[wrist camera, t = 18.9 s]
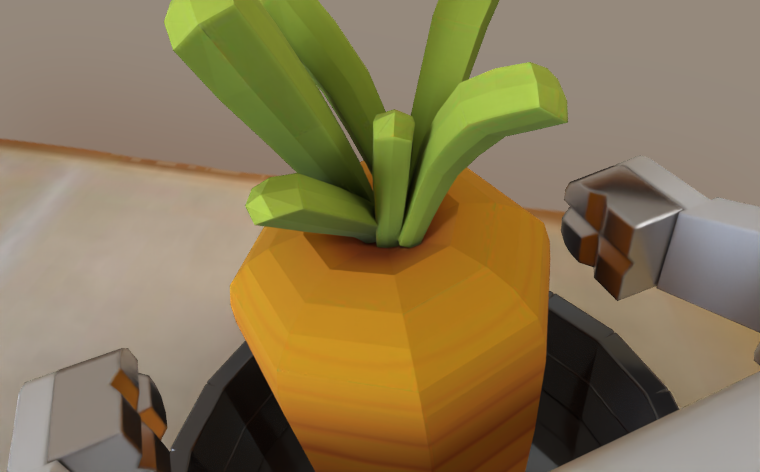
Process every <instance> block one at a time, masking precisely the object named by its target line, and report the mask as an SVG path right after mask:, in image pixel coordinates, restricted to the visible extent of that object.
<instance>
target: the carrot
mask: <svg viewBox="0 0 760 472" xmlns="http://www.w3.org/2000/svg"><path fill="white" fill-rule="evenodd" d="M498 2H499V0H439V1H438V3H437V6H436V8H435V11H434V14H433V17H432V22H431V26H430V31H429V35H428V40H427V45H426V49H425V53H424V58H423V62H422V67H421V71H420V76H419V80H418V85H417V89H416V94H415V99H414V103H413V108H412V112H411V116H410V115H408V114H405V113H402V112H400V111H398V110H395V109H394V110H391V111H387V112H386V111H385V109H384V107H383V104H382V102H381V100H380V98H379V95H378V93H377V90H376V88H375V86H374V83H373V81H372V79H371V76H370V74H369V72H368V70H367V68H366V67H365V65H364V64H363V62H362V61H361V59H360V58H359V56H358V55H357V53H356V52H355V50H354V49H353V47H352V46H351V44H350V43H349V41H348V40H347V38H346V37H345V35H344V34H343V32H342V31H341V29H340V28H339V26H338V25H337V23H336V22H335V20H334V19H333V18H332V17H331V16H330V14H329V13H328V12H327V11H326V10H325V9H324V7H323V6H322V5H321V4H320V2H319V1H318V0H172V1H171V2H170V5H169V9H168V11H167V14H166V18H165V20H164V24H165V27H166V30H167V33H168V36H169V39H170V42H171V45H172V48H173V51H174V52H175V53H176V54H177V55H178V56H179V57H180V58H181V59H182V60H183V61H184V62H185V63H186V65H187V66H188V67H189V68H190V69H191V70H192V71H193V72H194V73H195V74H196V75H197V76H198V77H199V78H200V80H202V82H203V83H204V84H205V85H206V86H207V87H208V88H209V89H210V90H211V91H212V92H213V93H214V94H215V96H217V98H218V99H219V100H220V101H221V102H222V103H223V104H225V105H226V106H227V107H228V108H229V109H230V110H231V111H232V112H233V113H234V114H235V115H236V116H237V117H239V118H240V119H241V120H242V121H243V122H244V123H245V124H246V125H247V126H248V127H249V128H251V130H253V131H254V132H255V133H256V134H257V135H258V136H259V137H260V138H261V139H262V140H263V141H264V142H266V143H267V144H268V145H269V146H270V147H271V148H272V149H273V150H274V151H275V152H276V153H277V154H278V155H279V156H280V157H281V158H282V159H284V161H285V162H286V163H288V164H289V165H290V166H291V167H292V168H293V169H294V170H295V171H296V172H297V173H294V174H288V175H282V176H276V177H270V178H268V179H266V180H265V181H263V182H262V183H260V184H258V185H257V186H255V187H254V188H252V190H251V192H250V195H249V198H248V200H247V203H246V205H245V206H246V208H247V210H248V212H249V214H250V216H251V218H252V220H253V222H254V225H259V226H264V228H263V230H262V232H261V233H260V235H259V237H258V238H257V240H256V242H255V244H254V245H253V247H252V249H251V250H250V252H249V254H248V256H247V257H246V259H245V261H244V262H243V264H242V266H241V268H240V269H239V271H238V273H237V274H236V276H235V278H234V280H233V281H232V283H231V285H230V302H231V308H232V311H233V314H234V317H235V320H236V322H237V324H238V326H239V328H240V330H241V332H242V334H243V336H244V338H245V340H246V342H247V344H248V346H249V348H250V350H251V351H252V353H253V355H254V357H255V359H256V361H257V363H258V365H259V367H260V369H261V371H262V373H263V375H264V377H265V379H266V380H267V382H268V384H269V386H270V388H271V390H272V392H273V394H274V396H275V398H276V400H277V402H278V404H279V406H280V407H281V409H282V411H283V413H284V415H285V417H286V419H287V421H288V422H289V424H290V426H291V428H292V430H293V432H294V433H295V435H296V437H297V439H298V441H299V443H300V444H301V446H302V448H303V450H304V452H305V454H306V455H307V457H308V459H309V461H310V463H311V465H312V466H313V468H314V470H315V472H525V470H526V466H527V461H528V457H529V453H530V448H531V444H532V439H533V435H534V431H535V425H536V419H537V413H538V407H539V401H540V394H541V388H542V382H543V376H544V370H545V364H546V348H547V324H548V300H549V276H550V241H549V238H548V235H547V231H546V228H545V225H544V223H543V222H542V221H540V220H539V219H538V218H536V217H535V216H533V215H532V214H531V213H529V212H528V211H527V210H525V209H524V208H522V207H521V206H520V205H518V204H517V203H515V202H514V201H513V200H511V199H510V198H508V197H507V196H505V195H504V194H503V193H502V192H500V191H499V190H497V189H496V188H495V187H493V186H492V185H491V184H489V183H488V182H486V181H485V180H484V179H482V178H481V177H480V176H478V175H477V174H475V173H474V172H473V171H471V170H470V169H468V168H467V166H468V165H469V164H471V163H472V161H474V160H475V159H476V158H477V157H478V156H479V155H480V154H482V153H483V152H485V151H486V150H487V149H489V148H490V147H491V146H493V145H494V144H496V143H497V142H498V141H500V140H501V139H503V138H504V137H505V136H510V135H514V134H519V133H524V132H528V131H533V130H537V129H542V128H546V127H550V126H555V125H559V124H563V123H567V122H568V113H567V100H566V97H565V95H564V93H563V90H562V88H561V86H560V83H559V81H558V79H557V78H556V77H555V76H554V75H553V74H552V73H551V72H550V71H549V70H548V69H547V68H545V67H542V66H539V65H537V64H534V63H531V62H528V63H523V64H517V65H512V66H507V67H501V68H496V69H493V70H490V71H488V72H486V73H483V74H481V75H478V76H476V77H473V78H471V79H469V77H470V74H471V71H472V68H473V65H474V63H475V60H476V57H477V54H478V52H479V49H480V46H481V44H482V41H483V38H484V35H485V32H486V30H487V27H488V25H489V23H490V20H491V18H492V16H493V14H494V11H495V9H496V7H497V5H498ZM316 85H317V86H318V87H319V89H320V90H321V91H322V92H323V93H324V95H325V97H326V98H327V100H328V101H329V103H330V104H331V106H332V108H333V109H334V111H335V112H336V114H337V116H338V117H339V119H340V120H341V122H342V123H343V125H344V126H345V128H346V130H347V131H348V133H349V135H350V137H351V139H352V140H353V142H354V144H355V146H356V147H357V149H358V151H359V153H360V154H361V156H362V158H363V160H364V161H361V162H359V160H358V158H357V156H356V154H355V153H354V151H353V149H352V147H351V145H350V143H349V141H348V140H347V138H346V136H345V134H344V132H343V130H342V129H341V127H340V125H339V124H338V122H337V120H336V118H335V116H334V115H333V113H332V111H331V110H330V108H329V106H328V104H327V103H326V101H325V100H324V97H323V96H322V94H321V92H320V91H319V89H318V87H317V86H316Z"/></svg>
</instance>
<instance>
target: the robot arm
mask: <svg viewBox="0 0 760 472" xmlns="http://www.w3.org/2000/svg"><path fill="white" fill-rule="evenodd" d="M564 200H565V201H566V202H567V203H568V205H569V206H570V207H569V208H568V210H567V211H566V213H565V214H564V216H563V217H562V225H561V233H562V236H563V240H564V243H565V245H566V247H567V248H568V250H569V252H570V253H571V255H572V256H573V257H574V258H575V259H576V260H577V261H578V262H579V263H582V264H585V265H588V266H591V267H594V278H595V279H596V280H597V281H598V282H599V283H600V284H601V285H602V286H603V287H604V288H605V289H606V290H607V291H608V292H609V293H610V294H611V295H612V296H613V297H614V298H615V299H616V300H617V301H619V300H621V299H624V298H627V297H629V296H632V295H634V294H637V293H639V292H642V291H644V290H647V289H650V288H652V287H655V286H657V288H658V289H660V290H662V291H664V292H667V293H669V294H671V295H674V296H676V297H678V298H681V299H683V300H685V301H688V302H690V303H692V304H695V305H697V306H699V307H701V308H704V309H706V310H708V311H711V312H713V313H715V314H718V315H720V316H722V317H725V318H727V319H729V320H732V321H734V322H736V323H739V324H741V325H743V326H745V327H748V328H750V329H752V330H755V331H757V332H759V333H760V207H759V206H754V205H750V204H746V203H741V202H737V201H732V200H728V199H723V198H719V197H717V198H714V199H711V200H710V199H709V198H707V197H705V196H704V195H703V194H701V193H700V192H698V191H697V190H695V189H694V188H693V187H691V186H689V185H688V184H686V183H685V182H684V181H682V180H681V179H679V178H678V177H676V176H675V175H673V174H672V173H671V172H669V171H668V170H666V169H664V168H663V167H662V166H660V165H659V164H657V163H656V162H654V161H653V160H652V159H650V158H648V157H645V156H637V157H634V158H632V159H629V160H627V161H624V162H621V163H619V164H617V165H615V166H611V167H609V168H606V169H603V170H601V171H598V172H595V173H593V174H590V175H588V176H585V177H582V178H580V179H577V180H574V181H572V182H570V183H569V184H568V186H567V187H566V189H565V196H564ZM754 361H755V362H757V363H758V364H759V365H760V343H759V344H758V346H757V348H756V350H755V352H754ZM166 430H167V420H166V412H165V408H164V405H163V401H162V398H161V395H160V393H159V391H158V389H157V387H156V385H155V383H154V382H153V380H152V379H151V378H150V376H148V375H145V374H141V373H138V360H137V359H136V358H135V356H134V355H133V354H132V353H131V351H130V350H129V349H128V348H121V349H118V350H115V351H112V352H109V353H106V354H104V355H101V356H98V357H95V358H92V359H89V360H86V361H83V362H80V363H77V364H74V365H72V366H69V367H66V368H63V369H60V370H59V371H56V372H53V373H50V374H48V375H45V376H42V377H39V378H36V379H33V380H30V381H27V382H25V383H24V385H23V386H22V388H21V389H20V391H19V395H18V402H17V408H16V415H15V422H14V428H13V435H12V442H11V449H10V455H9V462H8V469H7V472H171V461H170V452H169V450H168V449H167V448H166V447H165V445H164V444H163V443H162V442H161V439H162V437H163V435H164V433H165V431H166ZM549 472H760V371H759V372H757V373H755V374H753V375H751V376H748V377H746V378H744V379H742V380H740V381H738V382H736V383H734V384H732V385H730V386H727V387H725V388H723V389H721V390H719V391H717V392H715V393H713V394H711V395H709V396H706V397H704V398H702V399H700V400H698V401H696V402H694V403H692V404H690V405H688V406H685V407H683V408H681V409H679V410H677V411H675V412H673V413H671V414H669V415H667V416H664V417H662V418H660V419H658V420H656V421H654V422H652V423H650V424H648V425H646V426H643V427H641V428H639V429H637V430H635V431H633V432H631V433H629V434H627V435H625V436H622V437H620V438H618V439H616V440H614V441H612V442H610V443H608V444H606V445H604V446H602V447H599V448H597V449H595V450H593V451H591V452H589V453H587V454H585V455H583V456H581V457H578V458H576V459H574V460H572V461H570V462H568V463H566V464H564V465H562V466H560V467H557V468H555V469H553V470H551V471H549Z"/></svg>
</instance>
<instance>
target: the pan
mask: <svg viewBox="0 0 760 472" xmlns="http://www.w3.org/2000/svg"><path fill="white" fill-rule="evenodd" d="M677 410H679V408H678V406H677V404H676V402H675V400H674V398H673V396H672V394H671V392H670V391H668V389H667V387H666V386H665V385H664V384H663V383H662V382H661V381H660V379H659V378H658V377H657V376H656V375H655V374H654V373H653V372H652V371H651V370H650V369H649V368H648V367H647V365H646V364H645V363H644V362H643V361H642V360H641V359H640V358H639V357H638V356H637V355H636V354H635V352H634V351H633V350H632V349H631V348H630V347H629V346H628V345H627V344H626V343H625V342H624V341H623V339H622V338H621V337H620V336H619V335H618V334H617V333H614V331H613V330H612V329H610V328H609V327H607V326H606V325H604V324H603V323H601V322H599V321H598V320H596V319H595V318H593V317H592V316H590V315H588V314H587V313H585V312H584V311H582V310H581V309H579V308H578V307H576V306H574V305H573V304H571V303H570V302H568V301H567V300H565V299H563V298H562V297H560V296H559V295H557V294H553V292H551V291H549V300H548V324H547V348H546V364H545V370H544V376H543V382H542V388H541V394H540V401H539V407H538V413H537V419H536V425H535V431H534V435H533V439H532V444H531V448H530V453H529V457H528V461H527V466H526V470H525V472H549V471H551V470H553V469H555V468H557V467H560V466H562V465H564V464H566V463H568V462H570V461H572V460H574V459H576V458H578V457H581V456H583V455H585V454H587V453H589V452H591V451H593V450H595V449H597V448H599V447H602V446H604V445H606V444H608V443H610V442H612V441H614V440H616V439H618V438H620V437H622V436H625V435H627V434H629V433H631V432H633V431H635V430H637V429H639V428H641V427H643V426H646V425H648V424H650V423H652V422H654V421H656V420H658V419H660V418H662V417H664V416H667V415H669V414H671V413H673V412H675V411H677ZM170 461H171V472H315V470H314V468H313V466H312V465H311V463H310V461H309V459H308V457H307V455H306V454H305V452H304V450H303V448H302V446H301V444H300V443H299V441H298V439H297V437H296V435H295V433H294V432H293V430H292V428H291V426H290V424H289V422H288V421H287V419H286V417H285V415H284V413H283V411H282V409H281V407H280V406H279V404H278V402H277V400H276V398H275V396H274V394H273V392H272V390H271V388H270V386H269V384H268V382H267V380H266V379H265V377H264V375H263V373H262V371H261V369H260V367H259V365H258V363H257V361H256V359H255V357H254V355H253V353H252V351H251V350H250V348H249V346H248V344H247V342H246V341H245V342H244V343H243V344H242V345H241V346H240V347H239V348H238V349H237V350H236V351H235V352H234V353H233V355H232V356H231V357H230V358H229V359H228V360H227V361H226V362H225V363H224V364H223V365H222V366H221V367H220V369H219V370H218V371H217V372H216V373H215V374H214V375H213V376H212V377H211V378H210V379H209V380H208V382H207V384H206V385H205V386H204V388H203V390H202V392H201V394H200V396H199V397H198V399H197V401H196V403H195V405H194V407H193V408H192V410H191V412H190V414H189V416H188V418H187V419H186V421H185V423H184V425H183V427H182V429H181V430H180V432H179V434H178V436H177V438H176V439H175V441H174V443H173V445H172V447H171V451H170Z"/></svg>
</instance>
